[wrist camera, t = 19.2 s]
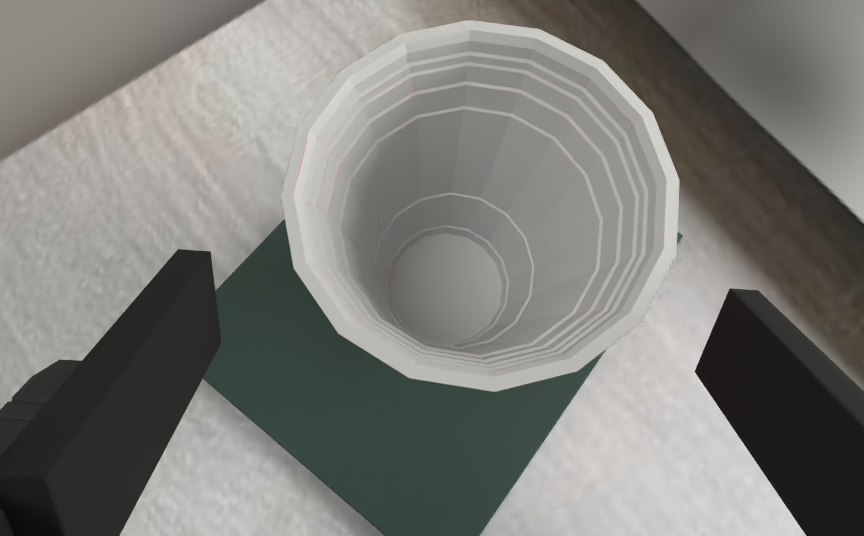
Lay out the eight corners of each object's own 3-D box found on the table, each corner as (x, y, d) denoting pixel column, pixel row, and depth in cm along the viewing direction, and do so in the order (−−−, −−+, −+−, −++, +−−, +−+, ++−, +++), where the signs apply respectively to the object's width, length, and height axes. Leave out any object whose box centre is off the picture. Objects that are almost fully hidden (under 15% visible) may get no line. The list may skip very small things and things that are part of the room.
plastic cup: (328, 183, 27) (281, 4, 15) (541, 182, 28) (649, 13, 16) (325, 409, 24) (264, 399, 12) (563, 400, 25) (715, 382, 13)
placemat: (168, 346, 25) (163, 344, 24) (436, 64, 30) (437, 57, 29) (443, 583, 23) (444, 587, 22) (677, 239, 28) (683, 235, 27)
